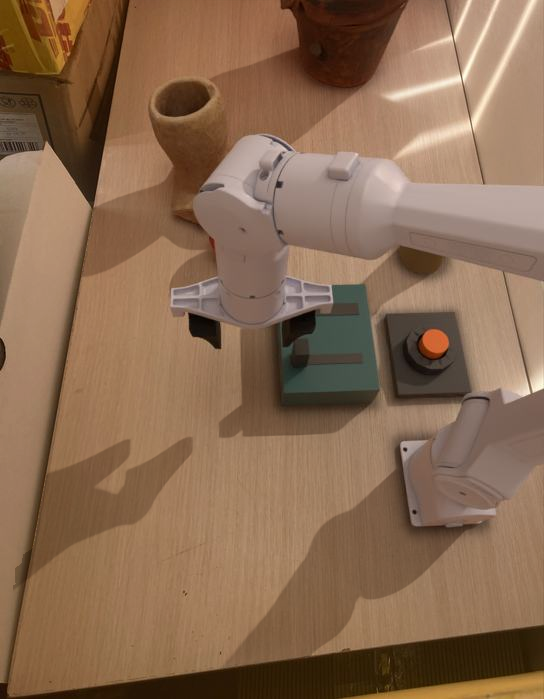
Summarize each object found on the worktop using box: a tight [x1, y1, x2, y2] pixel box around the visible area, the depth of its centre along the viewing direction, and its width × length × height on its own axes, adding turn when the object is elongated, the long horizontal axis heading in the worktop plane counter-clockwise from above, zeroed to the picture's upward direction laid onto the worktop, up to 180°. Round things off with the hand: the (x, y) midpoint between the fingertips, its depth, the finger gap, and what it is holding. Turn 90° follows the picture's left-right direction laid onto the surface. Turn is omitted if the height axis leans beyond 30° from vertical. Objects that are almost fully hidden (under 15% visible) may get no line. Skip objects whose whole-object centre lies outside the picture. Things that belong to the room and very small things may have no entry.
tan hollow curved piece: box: [147, 75, 234, 226], centre depth 71 cm, size 15×12×15 cm
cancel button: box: [418, 329, 449, 359], centre depth 65 cm, size 3×3×2 cm
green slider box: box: [276, 283, 381, 407], centre depth 66 cm, size 14×11×5 cm
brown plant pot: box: [279, 0, 409, 88], centre depth 81 cm, size 18×20×18 cm
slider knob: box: [292, 338, 310, 367], centre depth 60 cm, size 2×2×4 cm
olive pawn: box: [399, 245, 445, 275], centre depth 69 cm, size 6×6×11 cm
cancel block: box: [383, 311, 473, 399], centre depth 67 cm, size 11×9×3 cm
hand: (251, 339), depth 56 cm, fingers open, 6 cm apart
